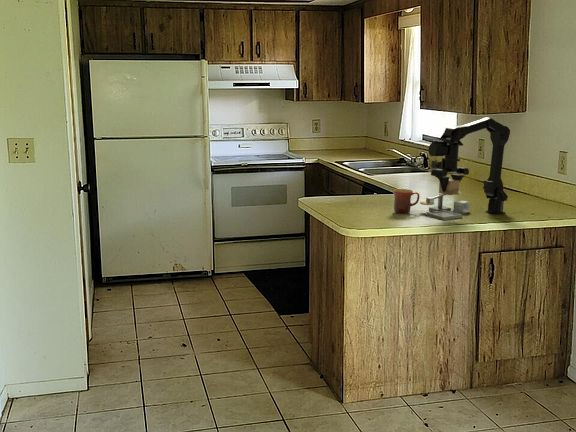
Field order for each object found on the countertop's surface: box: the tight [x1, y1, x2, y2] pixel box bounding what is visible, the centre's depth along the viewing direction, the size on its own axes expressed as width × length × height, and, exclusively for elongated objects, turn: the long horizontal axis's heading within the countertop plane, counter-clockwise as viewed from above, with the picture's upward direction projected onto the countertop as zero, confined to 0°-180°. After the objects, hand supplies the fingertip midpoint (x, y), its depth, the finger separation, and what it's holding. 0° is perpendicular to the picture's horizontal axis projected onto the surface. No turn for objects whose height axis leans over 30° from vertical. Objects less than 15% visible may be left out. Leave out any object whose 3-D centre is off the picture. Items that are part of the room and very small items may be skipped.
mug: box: [392, 188, 421, 215], centre depth 318 cm, size 12×9×10 cm
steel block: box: [452, 199, 470, 215], centre depth 321 cm, size 5×5×5 cm
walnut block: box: [438, 178, 460, 196], centre depth 308 cm, size 6×6×6 cm
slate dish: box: [425, 210, 463, 221], centre depth 311 cm, size 11×11×1 cm
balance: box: [419, 191, 462, 212], centre depth 323 cm, size 22×6×9 cm, turn 120°
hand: (448, 191), depth 309 cm, fingers closed on walnut block, 6 cm apart
